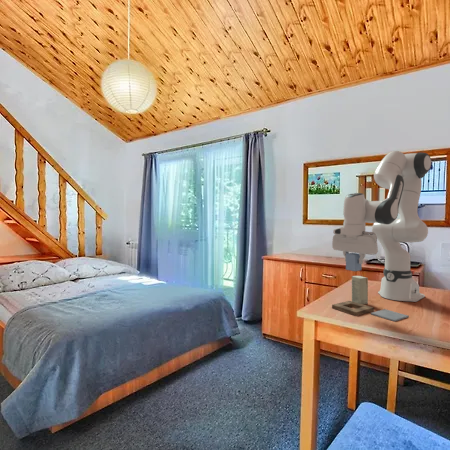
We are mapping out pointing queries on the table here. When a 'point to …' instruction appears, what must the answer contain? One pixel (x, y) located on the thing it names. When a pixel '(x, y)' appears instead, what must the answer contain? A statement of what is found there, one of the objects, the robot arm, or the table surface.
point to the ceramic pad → (389, 315)
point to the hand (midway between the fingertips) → (353, 262)
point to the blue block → (353, 262)
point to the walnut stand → (345, 308)
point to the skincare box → (360, 289)
